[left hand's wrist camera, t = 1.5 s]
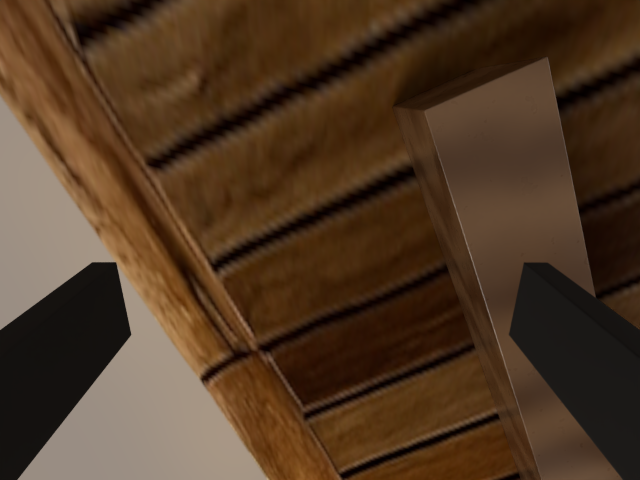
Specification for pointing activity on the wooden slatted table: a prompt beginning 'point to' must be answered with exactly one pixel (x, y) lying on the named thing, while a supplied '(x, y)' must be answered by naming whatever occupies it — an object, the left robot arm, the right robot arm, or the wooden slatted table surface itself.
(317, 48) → the wooden slatted table surface
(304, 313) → the wooden slatted table surface
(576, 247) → the bar
